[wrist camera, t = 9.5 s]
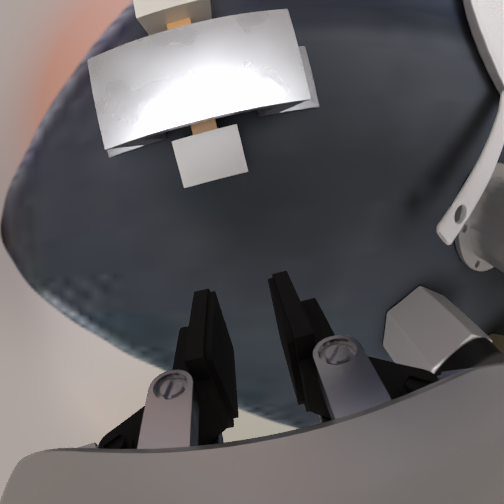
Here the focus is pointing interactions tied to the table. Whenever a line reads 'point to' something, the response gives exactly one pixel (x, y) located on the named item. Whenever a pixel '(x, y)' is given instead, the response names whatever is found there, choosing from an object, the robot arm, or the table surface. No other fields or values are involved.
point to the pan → (500, 71)
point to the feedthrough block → (199, 77)
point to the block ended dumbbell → (204, 133)
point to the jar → (436, 335)
